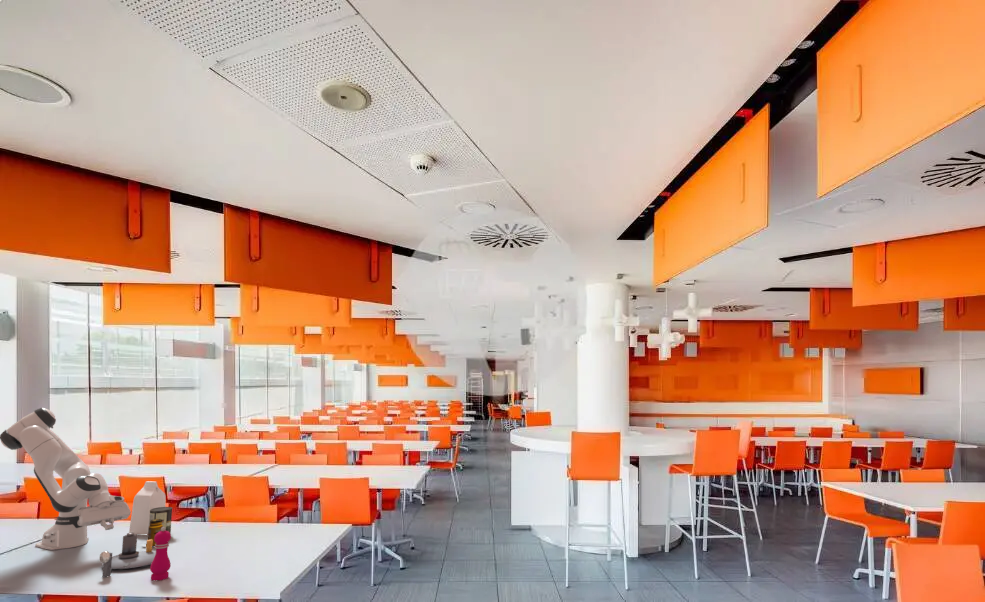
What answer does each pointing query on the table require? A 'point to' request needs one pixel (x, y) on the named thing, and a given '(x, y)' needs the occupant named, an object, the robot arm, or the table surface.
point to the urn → (129, 547)
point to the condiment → (154, 529)
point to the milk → (145, 507)
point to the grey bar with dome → (106, 563)
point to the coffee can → (162, 516)
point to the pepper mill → (161, 556)
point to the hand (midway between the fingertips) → (109, 528)
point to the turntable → (135, 559)
